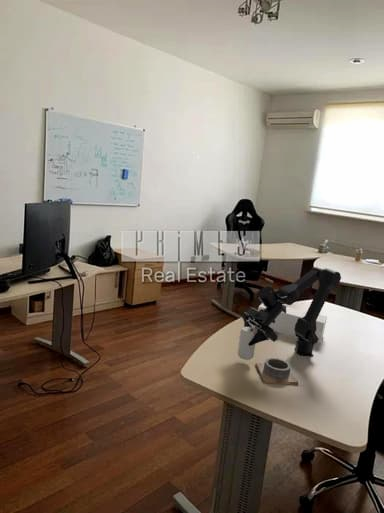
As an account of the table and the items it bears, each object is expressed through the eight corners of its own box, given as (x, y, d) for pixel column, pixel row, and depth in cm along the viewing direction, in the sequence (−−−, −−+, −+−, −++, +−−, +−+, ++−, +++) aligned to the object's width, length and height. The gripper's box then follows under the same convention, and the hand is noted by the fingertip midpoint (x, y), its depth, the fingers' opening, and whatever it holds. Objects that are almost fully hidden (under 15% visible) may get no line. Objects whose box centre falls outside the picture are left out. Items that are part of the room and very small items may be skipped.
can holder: (286, 367, 155) (288, 356, 154) (298, 384, 142) (300, 373, 141) (255, 365, 153) (257, 354, 152) (264, 382, 141) (265, 371, 140)
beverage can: (252, 361, 150) (256, 333, 148) (236, 358, 151) (240, 330, 149) (253, 355, 156) (257, 327, 154) (238, 352, 157) (241, 324, 155)
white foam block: (323, 336, 192) (327, 316, 189) (320, 344, 182) (324, 323, 180) (261, 320, 205) (264, 301, 202) (255, 326, 195) (258, 306, 193)
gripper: (247, 293, 159) (221, 320, 156) (276, 309, 143) (248, 340, 140) (259, 309, 164) (235, 336, 161) (289, 327, 148) (262, 356, 145)
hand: (244, 341), depth 152 cm, fingers closed on beverage can, 6 cm apart
